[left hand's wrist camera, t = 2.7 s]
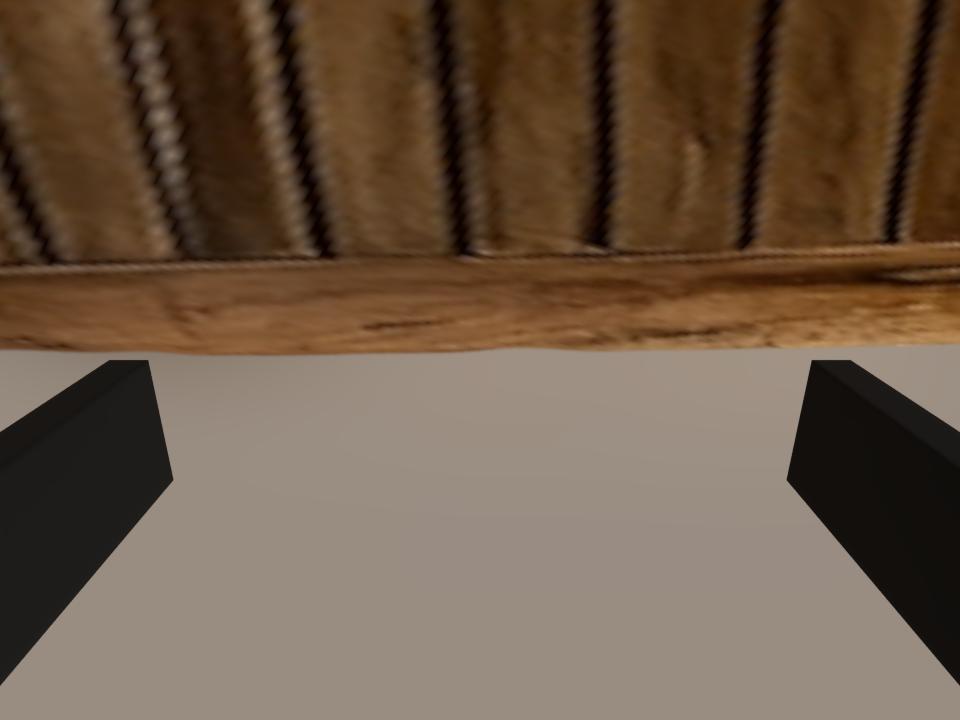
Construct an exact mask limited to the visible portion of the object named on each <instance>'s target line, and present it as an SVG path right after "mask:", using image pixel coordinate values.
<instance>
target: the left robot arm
mask: <svg viewBox="0 0 960 720" xmlns="http://www.w3.org/2000/svg"><path fill="white" fill-rule="evenodd" d="M172 481H173V476H172V471H171V466H170V461H169V457H168V452H167V447H166V442H165V438H164V433H163V428H162V424H161V419H160V414H159V409H158V404H157V400H156V395H155V390H154V386H153V381H152V376H151V371H150V367H149V362H148V360H109V361H107V362H106V363H104V364H103V365H101V366H100V367H98V368H97V369H95V370H94V371H92V372H91V373H89V374H88V375H86V376H85V377H83V378H82V379H80V380H79V381H77V382H76V383H74V384H72V385H71V386H70V387H68V388H66V389H65V390H63V391H62V392H60V393H59V394H57V395H56V396H54V397H53V398H51V399H50V400H48V401H47V402H45V403H44V404H42V405H41V406H39V407H38V408H36V409H35V410H33V411H32V412H30V413H29V414H27V415H25V416H24V417H22V418H21V419H19V420H18V421H16V422H15V423H13V424H12V425H10V426H9V427H7V428H6V429H4V430H3V431H1V432H0V685H1V684H2V683H3V682H4V681H5V679H6V678H7V677H8V676H9V675H10V673H11V672H12V671H13V670H14V669H15V667H16V666H17V665H18V664H19V663H20V662H21V660H22V659H23V658H24V657H25V656H26V654H27V653H28V652H29V651H30V650H31V649H32V647H33V646H34V645H35V644H36V643H37V641H38V640H39V639H40V638H41V637H42V635H43V634H44V633H45V632H46V631H47V629H48V628H49V627H50V626H51V625H52V624H53V622H54V621H55V620H56V619H57V618H58V616H59V615H60V614H61V613H62V612H63V610H64V609H65V608H66V607H67V606H68V605H69V603H70V602H71V601H72V600H73V599H74V597H75V596H76V595H77V594H78V593H79V591H80V590H81V589H82V588H83V587H84V586H85V584H86V583H87V582H88V581H89V580H90V578H91V577H92V576H93V575H94V574H95V573H96V571H97V570H98V569H99V568H100V567H101V565H102V564H103V563H104V562H105V561H106V559H107V558H108V557H109V556H110V555H111V554H112V552H113V551H114V550H115V549H116V548H117V546H118V545H119V544H120V543H121V542H122V540H123V539H124V538H125V537H126V536H127V534H128V533H129V532H130V531H131V530H132V529H133V527H134V526H135V525H136V524H137V523H138V521H139V520H140V519H141V518H142V517H143V515H144V514H145V513H146V512H147V511H148V509H149V508H150V507H151V506H152V505H153V504H154V502H155V501H156V500H157V499H158V498H159V497H160V495H161V494H162V493H163V492H164V491H165V489H166V488H167V487H168V486H169V485H170V483H171V482H172ZM787 481H788V482H789V483H790V485H791V486H792V487H793V488H794V489H795V490H796V492H797V493H798V494H799V495H800V497H801V498H802V499H803V500H804V501H805V502H806V504H807V505H808V506H809V507H810V508H811V510H812V511H813V512H814V513H815V514H816V516H817V517H818V518H819V519H820V520H821V521H822V523H823V524H824V525H825V526H826V527H827V529H828V530H829V531H830V532H831V533H832V535H833V536H834V537H835V538H836V539H837V540H838V542H839V543H840V544H841V545H842V546H843V548H844V549H845V550H846V551H847V552H848V554H849V555H850V556H851V557H852V558H853V559H854V561H855V562H856V563H857V564H858V565H859V567H860V568H861V569H862V570H863V571H864V573H865V574H866V575H867V576H868V577H869V578H870V580H871V581H872V582H873V583H874V584H875V586H876V587H877V588H878V589H879V590H880V591H881V593H882V594H883V595H884V596H885V597H886V599H887V600H888V601H889V602H890V603H891V605H892V606H893V607H894V608H895V609H896V611H897V612H898V613H899V614H900V615H901V616H902V618H903V619H904V620H905V621H906V622H907V624H908V625H909V626H910V627H911V628H912V630H913V631H914V632H915V633H916V634H917V635H918V637H919V638H920V639H921V640H922V641H923V643H924V644H925V645H926V646H927V647H928V649H929V650H930V651H931V652H932V653H933V654H934V656H935V657H936V658H937V659H938V660H939V662H940V663H941V664H942V665H943V666H944V667H945V669H946V670H947V671H948V672H949V673H950V675H951V676H952V677H953V678H954V679H955V681H956V682H957V683H958V684H959V685H960V432H959V431H957V430H956V429H954V428H953V427H951V426H950V425H948V424H947V423H945V422H944V421H942V420H941V419H939V418H938V417H936V416H935V415H933V414H931V413H930V412H928V411H927V410H925V409H924V408H922V407H921V406H919V405H918V404H916V403H915V402H913V401H912V400H910V399H909V398H907V397H906V396H904V395H903V394H901V393H900V392H898V391H897V390H895V389H894V388H892V387H891V386H889V385H888V384H886V383H884V382H883V381H881V380H880V379H878V378H877V377H875V376H874V375H872V374H871V373H869V372H868V371H866V370H865V369H863V368H862V367H860V366H859V365H857V364H856V363H854V362H853V361H851V360H812V362H811V367H810V371H809V376H808V381H807V386H806V390H805V395H804V400H803V405H802V409H801V414H800V419H799V423H798V428H797V433H796V438H795V442H794V447H793V452H792V457H791V462H790V466H789V471H788V476H787Z"/></svg>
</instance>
